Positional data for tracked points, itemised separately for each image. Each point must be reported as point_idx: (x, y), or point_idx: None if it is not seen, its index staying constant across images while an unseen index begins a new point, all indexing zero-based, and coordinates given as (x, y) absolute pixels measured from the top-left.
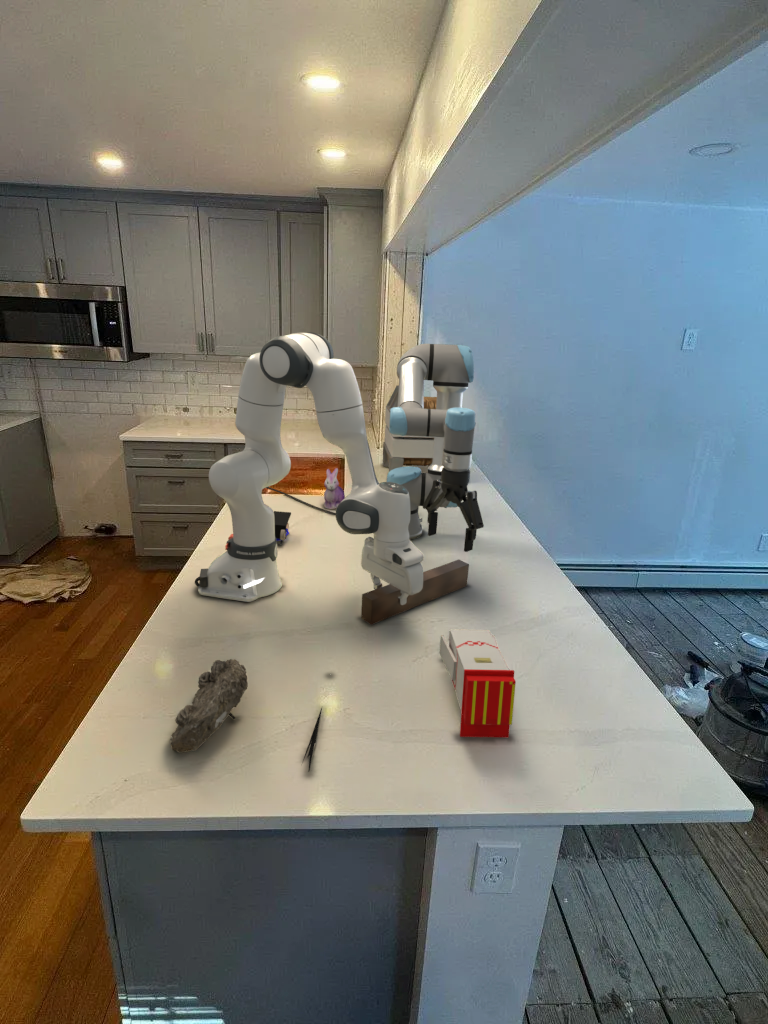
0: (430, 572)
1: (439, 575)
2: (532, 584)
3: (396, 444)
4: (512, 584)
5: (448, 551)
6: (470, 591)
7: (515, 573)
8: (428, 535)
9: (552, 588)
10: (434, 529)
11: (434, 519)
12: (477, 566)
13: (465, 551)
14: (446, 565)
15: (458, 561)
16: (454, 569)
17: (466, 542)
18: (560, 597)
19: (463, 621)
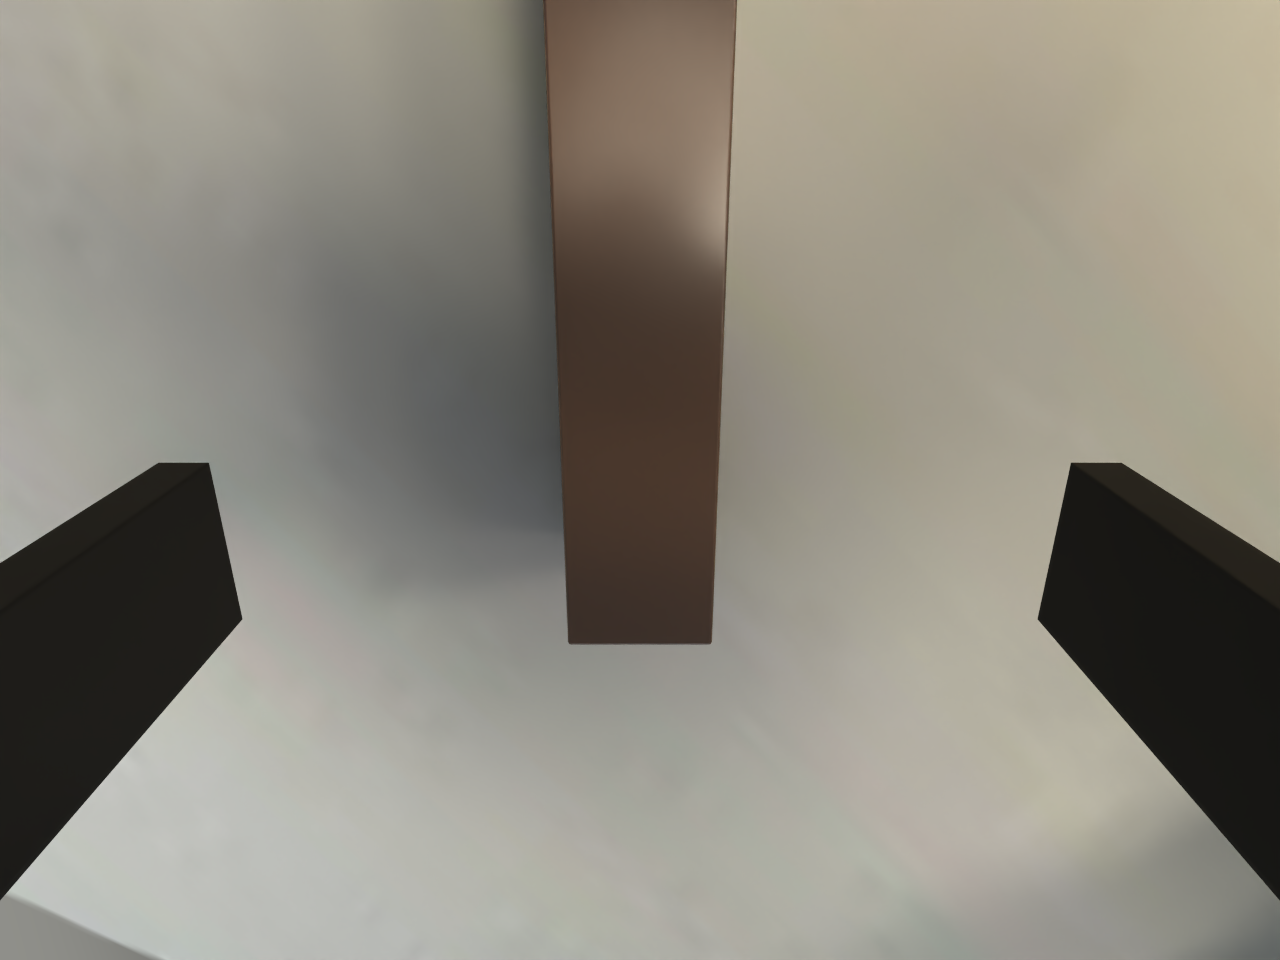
0: (667, 132)
1: (551, 177)
2: (346, 880)
3: None
4: (415, 792)
5: (1074, 830)
6: (502, 490)
7: (523, 912)
8: (1103, 464)
9: (241, 924)
10: (1102, 622)
11: (1271, 758)
12: (760, 811)
13: (163, 465)
14: (685, 436)
15: (677, 606)
16: (561, 434)
17: (39, 544)
18: (124, 876)
19: (123, 37)
